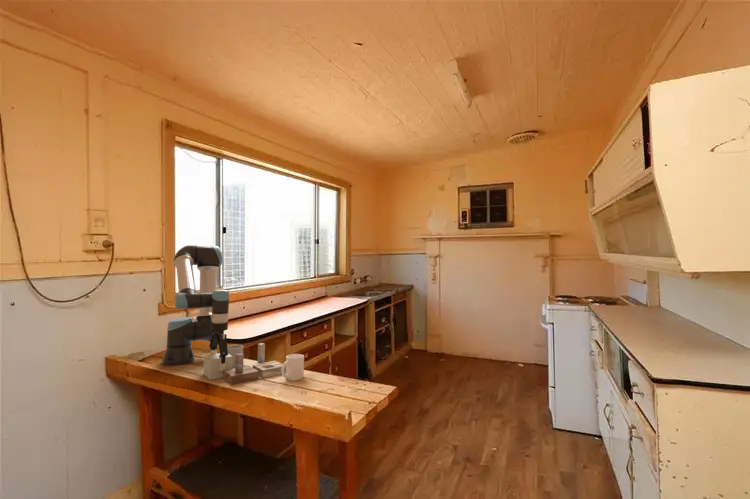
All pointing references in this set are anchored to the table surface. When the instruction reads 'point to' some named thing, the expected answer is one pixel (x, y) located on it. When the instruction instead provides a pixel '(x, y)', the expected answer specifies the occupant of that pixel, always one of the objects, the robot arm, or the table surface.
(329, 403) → the table surface
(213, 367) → the block
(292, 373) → the mug
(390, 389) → the table surface
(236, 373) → the board
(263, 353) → the pin
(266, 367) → the square block with hole
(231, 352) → the mug
